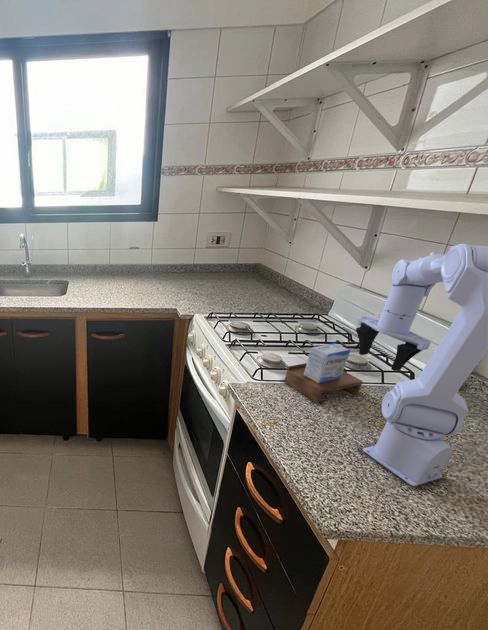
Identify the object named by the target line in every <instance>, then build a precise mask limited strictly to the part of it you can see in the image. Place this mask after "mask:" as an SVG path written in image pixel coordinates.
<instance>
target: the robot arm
mask: <svg viewBox="0 0 488 630" xmlns="http://www.w3.org/2000/svg"><path fill="white" fill-rule="evenodd" d="M390 281H391V284H392V285H391V288H390V290H389V293H388V295H387V298H386V301H385V303H384V306H383V309H382V311H381V314H380V316H379V319H374V318H370V317H367V316H366V315H364V316H359V317H358V319H357V321H356V325H358V327H356V328H355V332H356V335H357V337H358V338H357V339H358V345H359V347H358V348H359V351H358V355H360V356H365V355H368V354H369V353H370V351H371V348H372V345H373V343H374V341H375V339H376V338H377V336H378V335H379V333H381V334H383V335H386V336H388V337H390V338H393V339H396V340H398V341H401V342H403V343H401V344H400V343H399V344H397V346H396V354H395V357H394V360H393V362H392V365H391V370H392V371H394V372H396V371H400V370H401V369H402V368H403V367H404V366H405V365H406V364H407V363H408V362H409V361H410V360H411V359H413V357H415V356H416V355H418V354H419V353H421V352H422V351H425V350H429V347H430V346H431V344H432V341H431V340H428V339H426V338H424V337H422V336H420V335H418V334H417V333H414V332H412V331H411V327H412V325H413V324H414V320H415V318H416V316H417V313H418V311H419V309H420V306H421V304H422V302H423V300H424V297H427V296H429V293H430V292H431V290H432V289H433V288H434V287H435V286H436V284H437V283H443V286H444V290H445V292H446V293H445V294H446V297H447V299H448V300H450V301H451V302H453V303H455V304H457V305H458V306H460V310H459V312H458V313H457V315H456V317H455V318H454V320H453V321H452V323H451V325H450V326H449V328H448V330H447V331H446V333H445V334H444V335H443V337H442V339H441V340H440V342H439V344H438V345H437V347H436V349H435V350H434V351H433V354H432V355H431V357H430V358H429V360H428V362H427V363H426V364H425V366H424V368H423V369H422V370H421V372H420V374H419V376H418V377H417V378H414V379H409V380H404V381H399V382H396V383H395V385H394V386H393V387H392V389H390V390H389V391H388V392H386V393H385V394H384V396H383V398H382V401H381V414H382V416H383V417H384V420H386V422H385V424H384V427H383V429H382V431H381V434H380V436H379V438H378V439H377V441H376V444H374V445H370V446H367V447H364V448H362V452H363V453H364V454H366V455H368V456H369V457H370V458H372V459H374V460H375V461H376V462H378V463H379V464H380V465H382V466H383V467H385V468H386V469H387V470H388V471H390V472H391V473H393V474H394V475H396V476H397V477H398V478H400V479H401V480H402V481H404V482H405V483H406V484H408V485H410V486H411V487H417V486H420V485H423V484H427V483H429V482H432V481H435V480H439V479H442V478H443V472H444V470H445V468H446V467H447V465H448V464H449V462H450V460H451V459H452V457H453V454H454V448H453V447H451V446H450V445H449V444H448V443H446V441H444V439H445V437H446V436H448V437H452V436H454V435H456V434H458V433H459V432H460V431H461V430H462V428H463V426H464V422H465V419H466V416H467V414H468V413H469V409H468V405H467V403H466V400H465V399H464V398H463V397H462V396H461V395H460V394H459V392H458V391H459V390H460V389H461V388H462V386H463V385H464V383H465V382H466V380H467V379H468V378H469V376H470V375H471V374H472V373H473V371H474V369H475V368H476V367H477V366H478V364H479V362H481V360H482V359H483V357H484V356H485V355H486V353H487V352H488V245H473V244H472V245H471V244H467V243H459V244H456V245H451V247H450V249H449V250H448V251H447V252H446V254H445V253H444V252H441V251H432V252H430V253H429V255H427V256H420V257H418V259H415V260H407V259H405V258H401V259H400V260H398V261H397V262H396V263H395V265H394V266H393V269H392V272H391V277H390Z"/></svg>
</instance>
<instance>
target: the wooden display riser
mask: <svg viewBox="0 0 488 630" xmlns="http://www.w3.org/2000/svg"><path fill="white" fill-rule="evenodd" d="M306 365H307V362H304V363H299V364H294V365H289V366H287V370H286V374H285V377H284V381H283V382H284V383H286V384H287V385H288V386H290V387H291V388H293V389H294V390H296V391H298V392H299V393H301V394H302V395H304V396H305V397H306V398H308V399H309V400H311V401H312V402H313V403H315V404H319V403H320V401H321V398H322V395H323V393H329V392H332V391H338V390H342V389H345V390H346V391H348V392H350V393H352V394H353V395H359V393H360V390H361V388H362V385H363V383H364V381H363V380H361V379H360V378H358V377H356V376H354V375H353V374H351V373H348V372H347V371H345V370H343V373H342V376H341V378H339V379H335V380H331V381H327V382H323V383H320V384H318V383H316V382H315V381H313V380H311V379H309V378H308V377H306V376H304V372H305V368H306Z"/></svg>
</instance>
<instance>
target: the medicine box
mask: <svg viewBox="0 0 488 630" xmlns="http://www.w3.org/2000/svg"><path fill="white" fill-rule="evenodd" d="M350 353H351V350H350V349H348V348H346V347H344V346H343V345H340V344H338V343H335V342H334V343H329V344H324V345H318V346H314V347H311V348H310V351H309V355H308V358H307V362H306V363H307V365H306V368H305V372H304V376H306V377H308V378H309V379H311V380H313V381H315V382H316V383H318V384H320V383H323V382H327V381H331V380H335V379H339V378H341V376H342V373H343V371H345V370H344V369H345V367H346V364H347V361H348V359H349V356H350Z"/></svg>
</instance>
